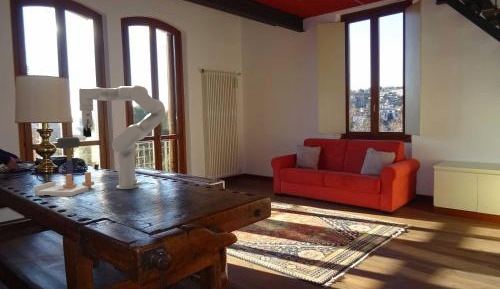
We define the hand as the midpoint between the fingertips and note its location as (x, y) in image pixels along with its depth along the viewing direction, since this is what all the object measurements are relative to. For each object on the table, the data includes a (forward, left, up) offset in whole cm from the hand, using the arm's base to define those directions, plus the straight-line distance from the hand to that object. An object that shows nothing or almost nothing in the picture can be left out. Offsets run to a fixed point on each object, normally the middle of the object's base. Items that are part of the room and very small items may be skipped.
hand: (87, 136), depth 222 cm
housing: (+6, +17, -31) cm, 36 cm away
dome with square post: (-2, +4, -31) cm, 32 cm away
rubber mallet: (+22, -14, -31) cm, 41 cm away
